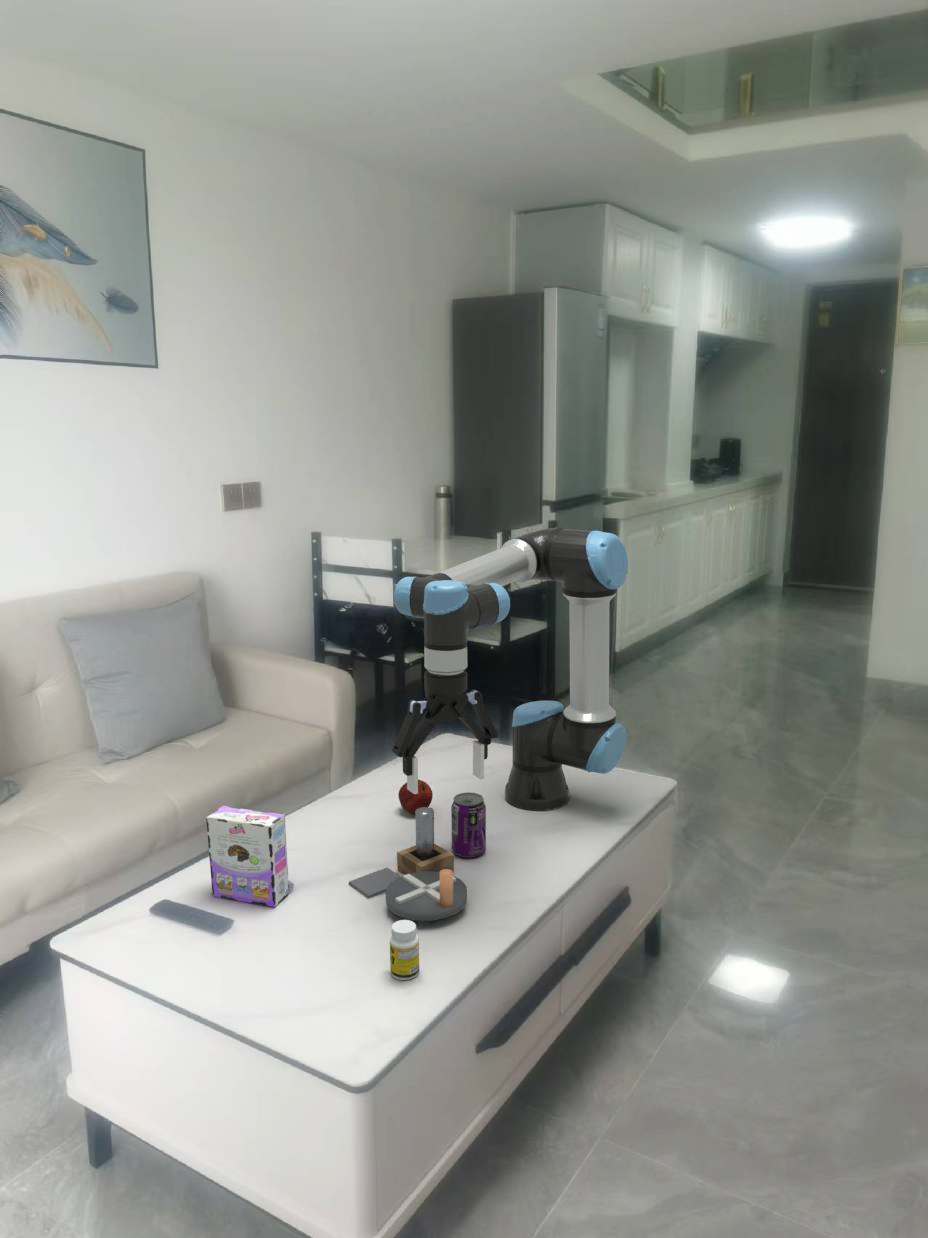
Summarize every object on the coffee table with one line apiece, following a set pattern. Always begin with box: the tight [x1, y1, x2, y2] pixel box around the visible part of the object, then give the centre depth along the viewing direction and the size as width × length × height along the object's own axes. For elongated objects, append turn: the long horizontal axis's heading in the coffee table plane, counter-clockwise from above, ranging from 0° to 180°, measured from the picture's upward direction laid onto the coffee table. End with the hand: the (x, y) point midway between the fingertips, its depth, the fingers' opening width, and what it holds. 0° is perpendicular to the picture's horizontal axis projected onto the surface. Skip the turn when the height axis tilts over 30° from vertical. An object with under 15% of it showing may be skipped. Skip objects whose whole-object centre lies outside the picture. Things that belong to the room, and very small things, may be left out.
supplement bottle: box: [389, 919, 420, 981], centre depth 150 cm, size 5×5×8 cm
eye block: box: [396, 842, 455, 875], centre depth 184 cm, size 8×8×4 cm
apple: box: [397, 779, 434, 815], centre depth 211 cm, size 7×8×8 cm
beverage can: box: [450, 791, 487, 859], centre depth 191 cm, size 7×7×12 cm
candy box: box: [205, 805, 290, 908], centre depth 174 cm, size 14×6×16 cm, turn 71°
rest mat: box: [348, 867, 401, 899], centre depth 179 cm, size 9×7×1 cm
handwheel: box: [385, 869, 468, 921], centre depth 170 cm, size 15×15×8 cm
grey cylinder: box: [414, 807, 435, 861], centre depth 183 cm, size 4×4×13 cm
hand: (446, 784), depth 166 cm, fingers open, 13 cm apart
